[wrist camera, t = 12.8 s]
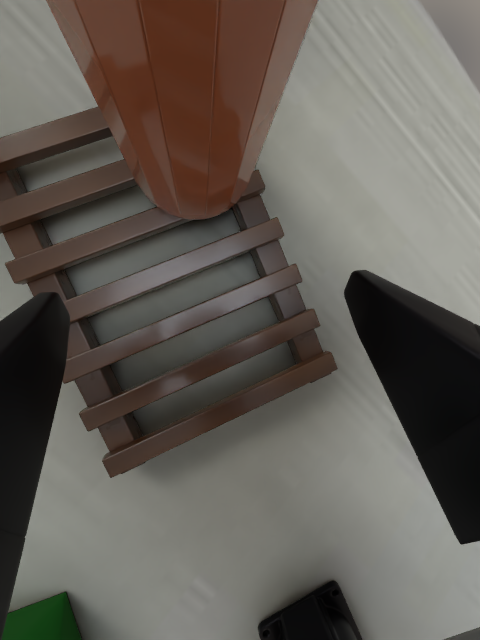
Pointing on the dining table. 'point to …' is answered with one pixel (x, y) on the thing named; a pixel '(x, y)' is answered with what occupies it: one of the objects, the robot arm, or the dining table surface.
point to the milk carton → (43, 621)
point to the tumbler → (187, 87)
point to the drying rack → (83, 347)
